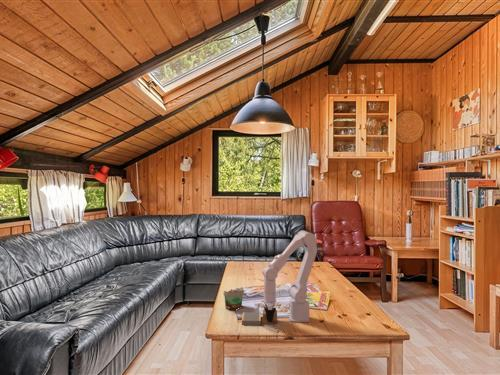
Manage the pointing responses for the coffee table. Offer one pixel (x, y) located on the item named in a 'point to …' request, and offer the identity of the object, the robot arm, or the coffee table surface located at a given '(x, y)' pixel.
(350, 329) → the coffee table surface
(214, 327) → the coffee table surface
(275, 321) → the brown block
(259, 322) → the dock
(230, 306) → the food container
